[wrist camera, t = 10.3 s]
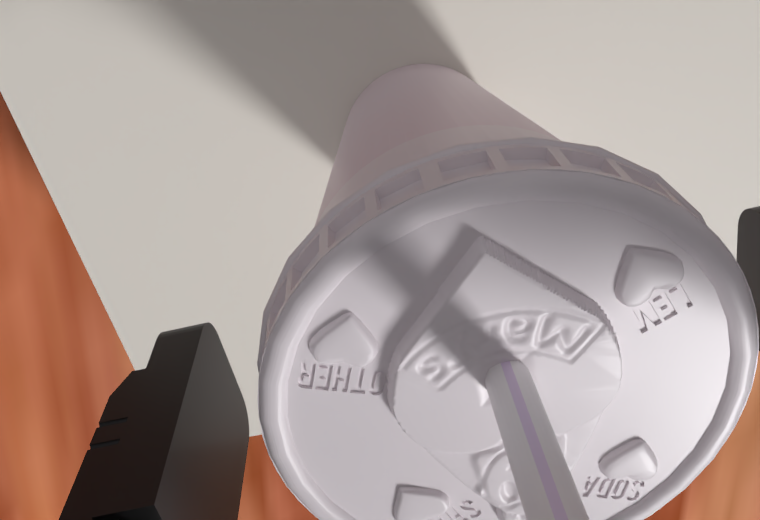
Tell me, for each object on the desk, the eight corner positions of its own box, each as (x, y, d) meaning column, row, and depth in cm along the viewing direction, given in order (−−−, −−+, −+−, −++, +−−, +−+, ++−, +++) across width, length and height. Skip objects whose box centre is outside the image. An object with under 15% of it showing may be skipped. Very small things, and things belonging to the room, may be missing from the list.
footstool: (650, -294, 20) (824, -374, 13) (658, 211, 28) (770, 328, 21) (34, -142, 21) (-112, -142, 14) (211, 307, 29) (174, 452, 22)
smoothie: (536, -30, 16) (1290, 370, 3) (562, 226, 19) (1005, 908, 7) (252, 39, 16) (18, 634, 4) (325, 279, 19) (327, 1026, 7)
